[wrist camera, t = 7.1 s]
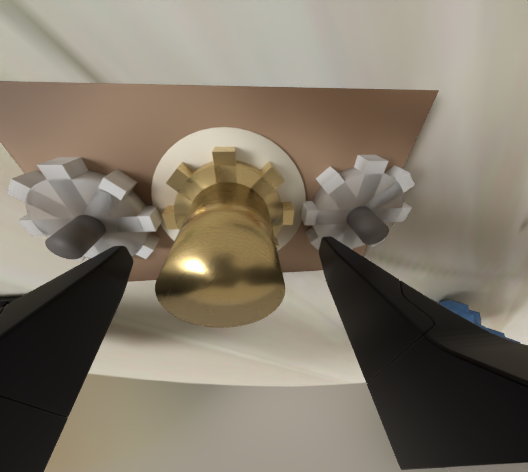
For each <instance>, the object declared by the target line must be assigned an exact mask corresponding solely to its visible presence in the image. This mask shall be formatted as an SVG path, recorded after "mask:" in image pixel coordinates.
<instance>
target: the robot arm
mask: <svg viewBox="0 0 528 472" xmlns="http://www.w3.org/2000/svg"><path fill="white" fill-rule="evenodd" d="M319 256H320V260H321V264H322V268H323V271H324V275H325V279H326V282H327V285H328V287H329V290H330V292H331V295H332V297H333V300H334V302H335V305H336V307H337V310H338V312H339V315H340V317H341V320H342V322H343V325H344V328H345V330H346V333H347V335H348V338H349V340H350V343H351V345H352V348H353V350H354V353H355V355H356V358H357V360H358V363H359V365H360V368H361V370H362V373H363V375H364V378H365V380H366V383H368V384H367V386H368V388H369V391H370V393H371V396H372V398H373V401H374V403H375V406H376V408H377V411H378V414H379V416H380V419H381V421H382V424H383V426H384V429H385V431H386V434H387V436H388V439H389V441H390V444H391V446H392V449H393V451H394V454H395V456H396V459H397V461H398V464H399V466H400V468H401V470H408V469H427V468H444V467H446V468H447V470H448V472H528V345H524V344H520V343H517V342H513V341H510V340H507V339H505V338H502V337H499V336H497V335H495V334H493V333H490V332H489V331H487V330H485V329H483V328H481V327H479V326H478V325H476V324H474V323H472V322H470V321H469V320H467V319H465V318H463V317H461V316H460V315H458V314H456V313H454V312H453V311H451V310H449V309H447V308H445V307H444V306H442V305H440V304H438V303H437V302H435V301H433V300H431V299H430V298H428V297H426V296H425V295H423V294H421V293H420V292H418V291H416V290H415V289H413V288H412V287H410V286H408V285H407V284H405V283H404V282H402V281H399V279H397V278H396V277H394V276H393V275H391V274H389V273H388V272H386V271H385V270H383V269H382V268H380V267H379V266H377V265H375V264H374V263H372V262H371V261H369V260H368V259H366V258H364V257H363V256H361V255H360V254H358V253H357V252H355V251H353V250H352V249H350V248H349V247H347V246H346V245H344V244H342V243H341V242H339V241H338V240H336V239H335V238H333V237H331V236H326V237H322V239H321V243H320V247H319ZM132 266H133V258H132V256H131V254H130V253H129V251H128V249H127V248H126V247H125V246H113V247H111V248H109V249H107V250H105V251H104V252H102V253H100V254H98V255H96V256H94V257H93V258H91V259H89V260H87V261H85V262H84V263H82V264H80V265H78V266H76V267H75V268H73V269H71V270H69V271H67V272H65V273H64V274H62V275H60V276H58V277H56V278H55V279H53V280H51V281H49V282H47V283H45V284H44V285H42V286H40V287H38V288H36V289H35V290H33V291H31V292H29V293H27V294H26V295H24V296H22V297H18V298H2V299H0V472H44V470H45V468H46V465H47V463H48V461H49V459H50V457H51V454H52V452H53V450H54V447H55V445H56V443H57V441H58V439H59V437H60V434H61V432H62V430H63V428H64V425H65V423H66V421H67V419H68V416H69V414H70V412H71V410H72V407H73V405H74V403H75V401H76V398H77V396H78V394H79V392H80V390H81V387H82V385H83V383H84V381H85V379H86V376H87V374H88V372H89V370H90V368H91V365H92V363H93V361H94V359H95V356H96V354H97V352H98V350H99V348H100V345H101V343H102V341H103V339H104V336H105V334H106V332H107V330H108V328H109V325H110V323H111V321H112V319H113V317H114V314H115V312H116V310H117V308H118V305H119V303H120V301H121V299H122V296H123V294H124V291H125V288H126V285H127V282H128V279H129V276H130V273H131V269H132Z"/></svg>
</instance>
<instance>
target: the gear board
mask: <svg viewBox="0 0 528 472" xmlns="http://www.w3.org/2000/svg"><path fill="white" fill-rule="evenodd" d="M437 93H438V90H391V89H344V88H297V87H249V86H202V85H155V84H108V83H60V82H13V81H0V142H1V143H2V145H3V146H4V147H5V149H6V150H7V151H8V153H9V154H10V155H11V156H12V158H13V159H14V160H15V162H16V163H17V164H18V165H19V167H20V168H21V169H22V171H23V172H24V173H25V174H23V175H21V176H18V177H15V178H13V179H11V182H10V186H9V189H8V192H7V194H8V195H10V196H12V197H14V198H16V199H18V200H20V201H23V202H25V203H26V209H27V212H28V215H26V216H24V217H22V218H21V219H19V220H17V221H18V222H19V223H20V224H21V225H22V226H23V227H24V228H25V229H26V230H27V231H28V232H29V233H30V234H31V236H46V237H48V239H47V240H46V242H45V243H46V246H47V248H48V249H49V250H50V251H51V252H53V253H54V254H56V255H58V256H60V257H63V258H66V259H73V260H76V261H78V262H82V261H83V260H84V259H85V258H86V257H87V258H90V259H91V258H93V257H94V256H96V255H98V254H100V253H102V252H104V251H105V250H107V249H109V248H111V247H113V246H125V247H126V248H127V249H128V251H129V253H130V254H131V256H132V258H133V266H132V269H131V273H130V276H129V279H128V281H145V280H157V278H158V276H159V274H160V271H161V269H162V267H163V265H164V263H165V261H166V258H167V256H168V254H169V252H170V250H171V248H172V245H173V243H174V241H175V239H176V237H177V235H178V232H179V229H170V230H167V227H166V225H165V222H164V219H163V216H162V213H163V212H164V210H165V209H166V207H167V206H168V205H174V203H175V199H176V195H177V193H178V192H177V191H176V190H174V189H173V188H171V187H170V186H169V185H167V184H166V182H167V181H168V180H169V178H170V177H171V176H172V174H173V173H174V171H175V170H176V169H177V168H178V166H179V165H180V164H181V163H182V162H183V163H184V164H186V165H187V166H188V167H189V168H191V169H192V170H193V171H194V170H196V169H197V168H198V167H200V166H202V165H204V164H206V163H209V162H212V161H213V156H212V151H213V149H214V147H235V149H236V160H238V161H242V162H245V163H248V164H251V165H253V166H255V167H257V168H258V169H260V170H261V169H262V168H263V167H264V166H265V165H266V164H267V163H268V162H269V161H270V162H271V164H272V165H273V166H274V167H275V168H276V169H277V170H278V171H279V172H280V173H281V174H282V176H283V178H284V182H283V183H282V184H281V185H280V186H279V187H278V188H277V191H278V193H279V196H280V199H281V202H291V203H292V205H293V208H294V210H295V211H294V218H293V225H282V226H281V229H280V231H279V233H278V235H277V240H278V244H279V247H278V248H277V251H278V256H279V260H280V265H281V269H282V272H299V271H316V270H323V268H322V264H321V260H320V256H319V247H320V243H321V239H322V237H326V236H331V237H333V238H335V239H336V240H338V241H339V242H341V243H342V244H344V245H346V246H347V247H349V248H350V249H352V250H353V251H355V252H357V253H358V254H360V255H361V256H362V255H363V253H364V251H365V249H366V247H367V245H370V246H371V247H372V248H373V247H375V246H376V245H378V244H380V243H381V242H383V241H385V240H386V239H385V237H386V236H387V234H388V232H389V228H390V227H391V226H392V225H393V223H394V222H404V221H405V219H406V218H407V216H408V214H409V212H410V211H411V209H412V207H411V206H409V205H408V204H406V203H405V202H403V201H404V195H403V193H404V192H406V191H407V190H409V189H410V188H412V187H413V186H415V184H414V182H413V179H412V177H411V175H410V173H409V172H408V171H405V170H403V167H404V165H405V163H406V160H407V158H408V156H409V154H410V152H411V150H412V147H413V145H414V143H415V141H416V139H417V137H418V134H419V132H420V130H421V128H422V126H423V124H424V122H425V119H426V117H427V115H428V113H429V111H430V109H431V106H432V104H433V102H434V100H435V98H436V96H437Z"/></svg>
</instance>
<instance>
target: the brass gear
mask: <svg viewBox="0 0 528 472" xmlns="http://www.w3.org/2000/svg"><path fill="white" fill-rule="evenodd" d="M212 156H213V161H212V162H209V163H206V164H204V165H202V166H200V167H198V168H197V169H196V170H194V171H193V170H192V169H191V168H189V167H188V166H187V165H186V164H184V163H183V162H182V163H181V164H180V165H179V166H178V168H177V169H176V170H175V171H174V173H173V174H172V176H171V177H170V178H169V180H168V181H167V182H166V184H167V185H169V186H170V187H171V188H173V189H174V190H176V191H177V192H178V193H177V195H176V199H175V203H174V205H168V206H167V207H166V209H165V210H164V212H163V213H162V216H163V219H164V222H165V225H166V227H167V230H170V229H179V232H178V235H177V237H176V239H175V241H174V243H173V245H172V248H171V250H170V252H169V254H168V256H167V258H166V261H165V263H164V265H163V267H162V269H161V271H160V274H159V276H158V278H157V281H156V284H155V292H156V296H157V298H158V301H159V302H160V304H161V305H162V306H163V307H164V308H165V309H166V310H167V311H168V312H169V313H171V314H172V315H174V316H175V317H177V318H179V319H181V320H184V321H186V322H189V323H192V324H196V325H200V326H206V327H219V328H224V327H236V326H242V325H246V324H250V323H253V322H256V321H258V320H260V319H262V318H264V317H266V316H268V315H269V314H271V313H272V312H273V311H274V310H276V308H277V307H278V306H279V305H280V304H281V302H282V300H283V298H284V295H285V283H284V279H283V274H282V269H281V265H280V260H279V256H278V251H277V248H278V247H279V244H278V240H277V235H278V233H279V231H280V229H281V226H282V225H293V218H294V211H295V210H294V208H293V205H292V203H291V202H281V199H280V196H279V193H278V191H277V188H278V187H279V186H280V185H281V184H282V183H283V182H284V178H283V176H282V174H281V173H280V172H279V171H278V170H277V169H276V168H275V167H274V166H273V165H272V164H271V162H270V161H269V162H268V163H267V164H266V165H265V166H264V167H263V168H262V169H261V170H260V169H258V168H257V167H255V166H253V165H251V164H248V163H245V162H242V161H238V160H236V149H235V147H214V149H213V151H212Z"/></svg>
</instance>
